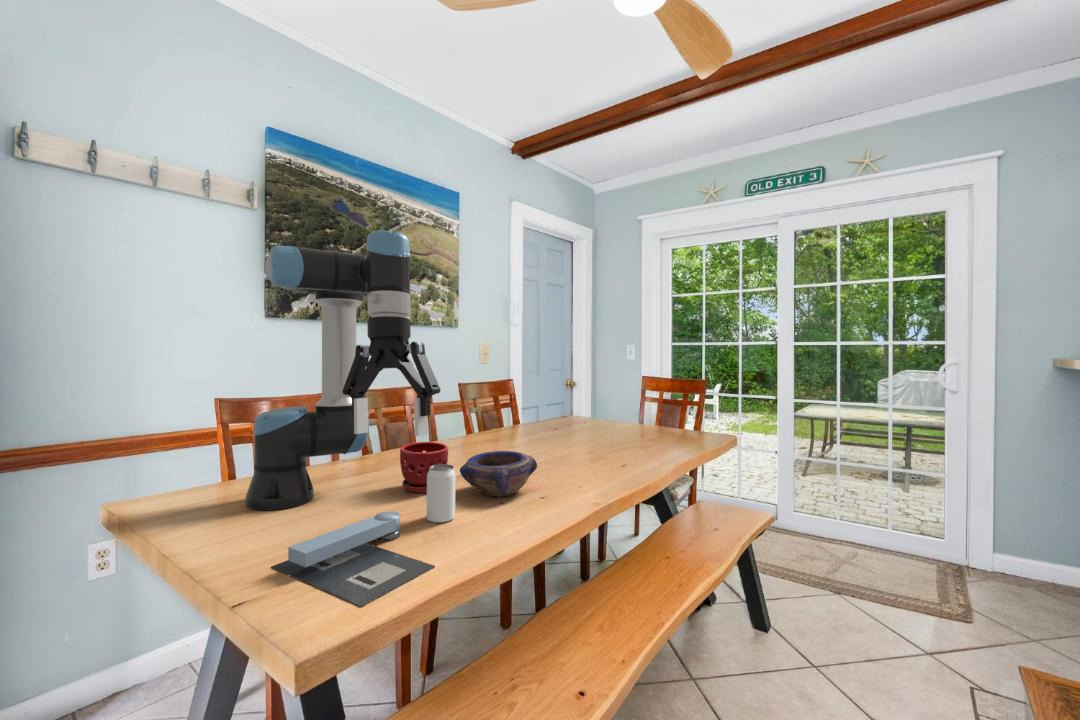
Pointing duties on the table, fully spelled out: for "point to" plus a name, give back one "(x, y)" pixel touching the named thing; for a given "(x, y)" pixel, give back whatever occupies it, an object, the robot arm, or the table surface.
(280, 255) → the robot arm
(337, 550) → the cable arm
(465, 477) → the bowl
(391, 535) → the arm pivot
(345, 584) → the label panel
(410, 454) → the plant pot
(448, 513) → the can
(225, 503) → the table surface
